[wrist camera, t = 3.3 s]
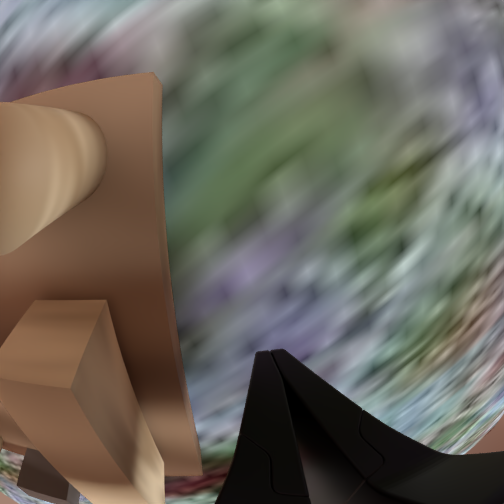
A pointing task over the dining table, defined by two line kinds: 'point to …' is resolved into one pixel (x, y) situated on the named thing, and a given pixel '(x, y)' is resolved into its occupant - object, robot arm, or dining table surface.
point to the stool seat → (94, 248)
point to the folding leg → (80, 402)
